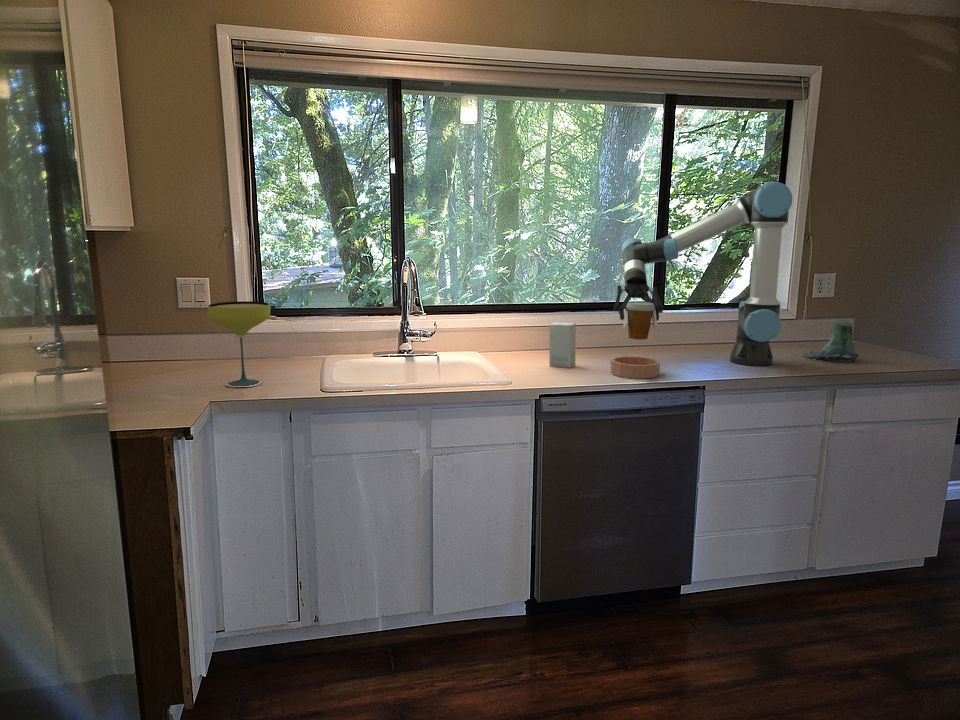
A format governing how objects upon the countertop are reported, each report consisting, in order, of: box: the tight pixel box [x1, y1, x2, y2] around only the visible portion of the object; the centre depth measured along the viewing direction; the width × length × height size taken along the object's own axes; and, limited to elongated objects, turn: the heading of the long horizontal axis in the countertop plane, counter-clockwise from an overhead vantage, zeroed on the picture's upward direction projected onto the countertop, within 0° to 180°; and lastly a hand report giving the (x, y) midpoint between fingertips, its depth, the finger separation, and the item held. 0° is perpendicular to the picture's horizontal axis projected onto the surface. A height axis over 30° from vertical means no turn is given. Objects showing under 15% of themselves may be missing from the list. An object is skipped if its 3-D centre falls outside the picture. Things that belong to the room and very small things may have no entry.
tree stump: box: [802, 319, 861, 363], centre depth 258 cm, size 18×20×18 cm
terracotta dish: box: [609, 355, 661, 380], centre depth 229 cm, size 16×16×4 cm
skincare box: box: [548, 321, 577, 369], centre depth 240 cm, size 8×7×16 cm
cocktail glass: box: [207, 300, 271, 386], centre depth 206 cm, size 18×18×25 cm
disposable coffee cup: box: [625, 301, 655, 341], centre depth 227 cm, size 10×10×12 cm
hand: (640, 327), depth 224 cm, fingers closed on disposable coffee cup, 9 cm apart
